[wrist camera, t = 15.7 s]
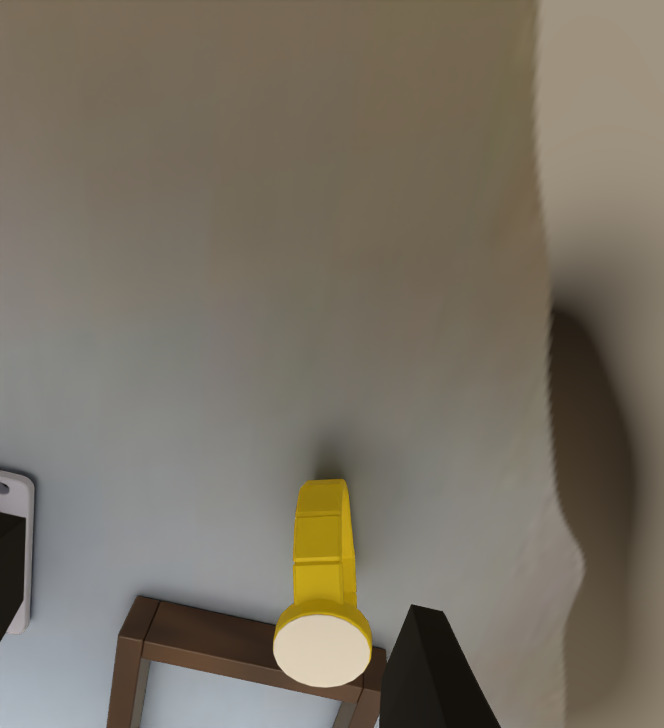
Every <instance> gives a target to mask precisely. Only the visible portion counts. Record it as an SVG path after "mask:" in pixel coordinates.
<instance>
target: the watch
mask: <svg viewBox="0 0 664 728" xmlns="http://www.w3.org/2000/svg"><path fill="white" fill-rule="evenodd" d="M295 517H296V519H295V525H294V547H293V561H294V562H295V564H294V565H293V584H294V604H292V605H290V606H289V607H288V608H287V609H286V610H285V611H284V612H283V613H282V614H281V616H280V618H279V620H278V622H277V624H276V629H275V634H274V639H273V654H274V656H275V659H276V661H277V664H278V666H279V667H280V668H281V669H282V670H283V671H284V672H285V674H286V675H288V676H290V677H291V678H293V679H294V680H296V681H297V682H300V683H303V684H306V685H309V686H314V687H325V688H327V687H334V686H341V685H343V684H346V683H348V682H351V681H353V680H354V679H355V678H357V677H358V676H359V675H360V674H362V673H363V672H364V670H365V669H366V667H367V665H368V664H369V662H370V660H371V652H372V633H371V629H370V626H369V623H368V621H367V619H366V618H365V617H364V616H363V614H362V613H361V612H360V611H359V610H358V609H357V595H356V592H357V591H356V569H355V551H354V545H353V534H352V524H351V513H350V503H349V492H348V488H347V485H346V482H345V481H344V480H343V479H327V480H308V481H307V482H306V483H305V484H304V485H303V486H302V487H301V488H300V491H299V496H298V502H297V507H296V513H295Z"/></svg>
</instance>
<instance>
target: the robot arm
mask: <svg viewBox="0 0 664 728" xmlns="http://www.w3.org/2000/svg"><path fill="white" fill-rule="evenodd" d="M2 483H4V484H6V485H7V486H8V487H9V488H7V487H5V486H4V485H3V484H2ZM34 491H35V489H34V484H33V483H32V481H31V480H30V479H28V478H27V477H25V476H22V475H19V474H14V473H10V472H6V471H1V470H0V641H1V640H2V638H3V636H4V635H5V633H9V634H22V633H23V632H24V631H25V630H26V628H27V627H28V625H29V623H30V598H31V571H32V544H33V518H34ZM379 728H501V727H500V725H499V723H498V721H497V719H496V717H495V715H494V714H493V712H492V710H491V708H490V706H489V704H488V702H487V700H486V698H485V696H484V694H483V692H482V690H481V688H480V686H479V684H478V682H477V680H476V678H475V676H474V674H473V672H472V670H471V668H470V666H469V664H468V662H467V660H466V658H465V656H464V654H463V652H462V650H461V647H460V645H459V643H458V641H457V639H456V637H455V635H454V633H453V630H452V628H451V626H450V624H449V622H448V620H447V618H446V616H445V614H444V613H443V611H439V610H434V609H430V608H426V607H421V606H417V605H412V604H411V606H410V609H409V611H408V614H407V616H406V619H405V621H404V624H403V626H402V628H401V631H400V633H399V636H398V638H397V641H396V643H395V646H394V648H393V651H392V653H391V655H390V658H389V660H388V663H387V665H386V668H385V670H384V673H383V675H382V678H381V695H380V718H379Z"/></svg>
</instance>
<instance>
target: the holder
mask: <svg viewBox="0 0 664 728" xmlns="http://www.w3.org/2000/svg"><path fill="white" fill-rule="evenodd" d="M275 629H276V626H273V625H269V624H264V623H260V622H255V621H250V620H246V619H241V618H237V617H232V616H228V615H223V614H219V613H214V612H210V611H205V610H200V609H196V608H191V607H187V606H182V605H178V604H173V603H169V602H164V601H161V602H159V601H158V600H154V599H150V598H145V597H141V596H137V597H136V598H135V600H134V603H133V605H132V607H131V609H130V611H129V613H128V615H127V617H126V619H125V622H124V624H123V626H122V628H121V630H120V632H119V634H118V640H117V648H116V656H115V664H114V672H113V680H112V688H111V695H110V703H109V711H108V719H107V727H106V728H139V727H140V721H141V715H142V709H143V703H144V697H145V691H146V684H147V678H148V672H149V666H150V660H153V661H158V662H162V663H167V664H172V665H176V666H181V667H186V668H190V669H195V670H200V671H204V672H209V673H214V674H218V675H223V676H228V677H232V678H237V679H242V680H246V681H251V682H256V683H260V684H265V685H270V686H274V687H279V688H284V689H288V690H293V691H298V692H302V693H307V694H312V695H316V696H321V697H326V698H330V699H335V700H340V701H342V704H341V707H340V709H339V712H338V715H337V717H336V720H335V723H334V725H333V728H374V725H375V723H376V721H377V718H378V716H379V714H380V695H381V678H382V675H383V673H384V670H385V668H386V665H387V659H386V650H384V649H379V648H374V647H372V652H371V660H370V662H369V664H368V665H367V667H366V669H365V670H364V672H363V673H362V674H360V675H359V676H358V677H357V678H355V679H354V680H353V681H351V682H348V683H346V684H343V685H341V686H334V687H327V688H325V687H314V686H309V685H306V684H303V683H300V682H297V681H296V680H294V679H293V678H291V677H290V676H288V675H286V674H285V672H284V671H283V670H282V669H281V668H280V667H279V666H278V664H277V661H276V659H275V656H274V654H273V639H274V634H275Z"/></svg>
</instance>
